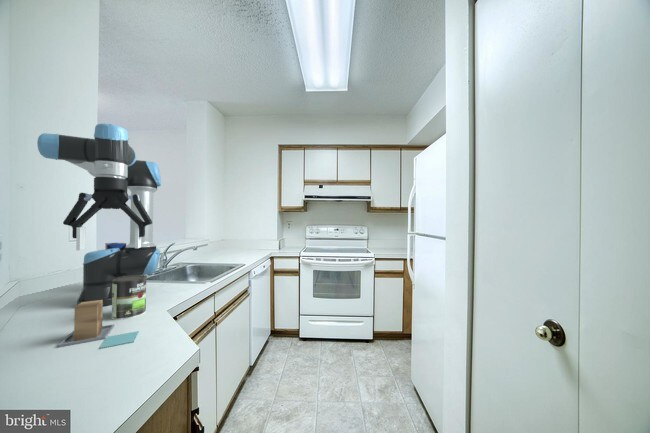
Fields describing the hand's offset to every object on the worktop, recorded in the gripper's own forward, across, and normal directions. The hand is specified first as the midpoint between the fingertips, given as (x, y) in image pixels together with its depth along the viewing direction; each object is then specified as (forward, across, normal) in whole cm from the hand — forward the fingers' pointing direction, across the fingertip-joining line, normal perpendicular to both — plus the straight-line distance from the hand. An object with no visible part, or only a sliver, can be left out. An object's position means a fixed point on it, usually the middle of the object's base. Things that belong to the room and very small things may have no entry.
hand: (110, 249), depth 72 cm
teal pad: (+27, +3, -1) cm, 28 cm away
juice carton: (+28, -24, +70) cm, 79 cm away
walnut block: (+27, -7, +6) cm, 29 cm away
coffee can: (+28, -2, +22) cm, 36 cm away
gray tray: (+27, -7, +6) cm, 29 cm away
